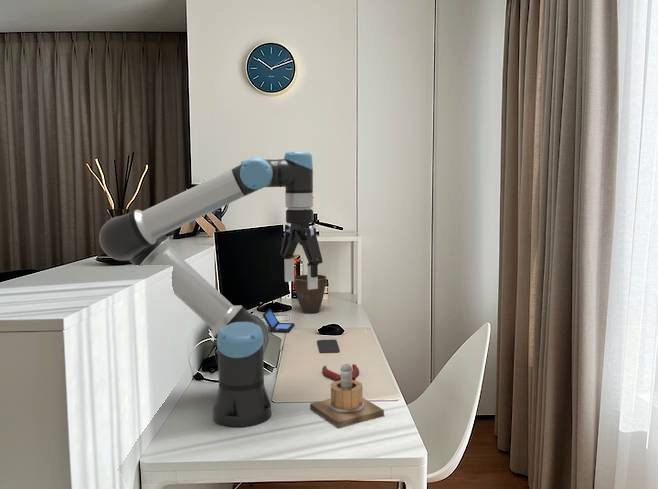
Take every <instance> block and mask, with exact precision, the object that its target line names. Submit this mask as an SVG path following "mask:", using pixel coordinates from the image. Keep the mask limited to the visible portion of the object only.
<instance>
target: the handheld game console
mask: <svg viewBox="0 0 658 489" xmlns="http://www.w3.org/2000/svg"><path fill="white" fill-rule="evenodd" d="M262 317H263V319H264V320H265V321H264V322H265V323H266V325H267V327H269V329H270V333H277V334H278V333H279V334H280V333H282V334H287V333H288V334H289V333H290V332H291V331H292V329H293V328H294V326H295V323H294V322H280V321H279V319H278V318H277V316H276V315H275V313H274V311H273V310H272V309H271V308H268V309H267V310H265V312H264V313H263V314H262Z"/></svg>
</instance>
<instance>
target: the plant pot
mask: <svg viewBox="0 0 658 489" xmlns="http://www.w3.org/2000/svg"><path fill="white" fill-rule="evenodd" d="M326 283H327V276H326V275H322V274H318V289H311V290H308V279H307V274H300V275H296V276H295V275H294V281H293V285H294V289H295V294H296V297H297V301H298V304H299V307H300V309H301V311H302V313H303V314H317V313H319V311H320V309H321V306H322V302H323V299H324V294H325V290H326V285H327V284H326Z"/></svg>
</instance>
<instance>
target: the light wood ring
mask: <svg viewBox="0 0 658 489" xmlns="http://www.w3.org/2000/svg"><path fill="white" fill-rule="evenodd" d="M362 398H363V384H362V382H360V381H357V380H355V381H353V380H352V388H351V389H342V388H341V380H339V381H333V382H332V383H330V399H331V406H333V407H334V408H336V409H341V410H353V409H357V408H359V407H361V406H362Z"/></svg>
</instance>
